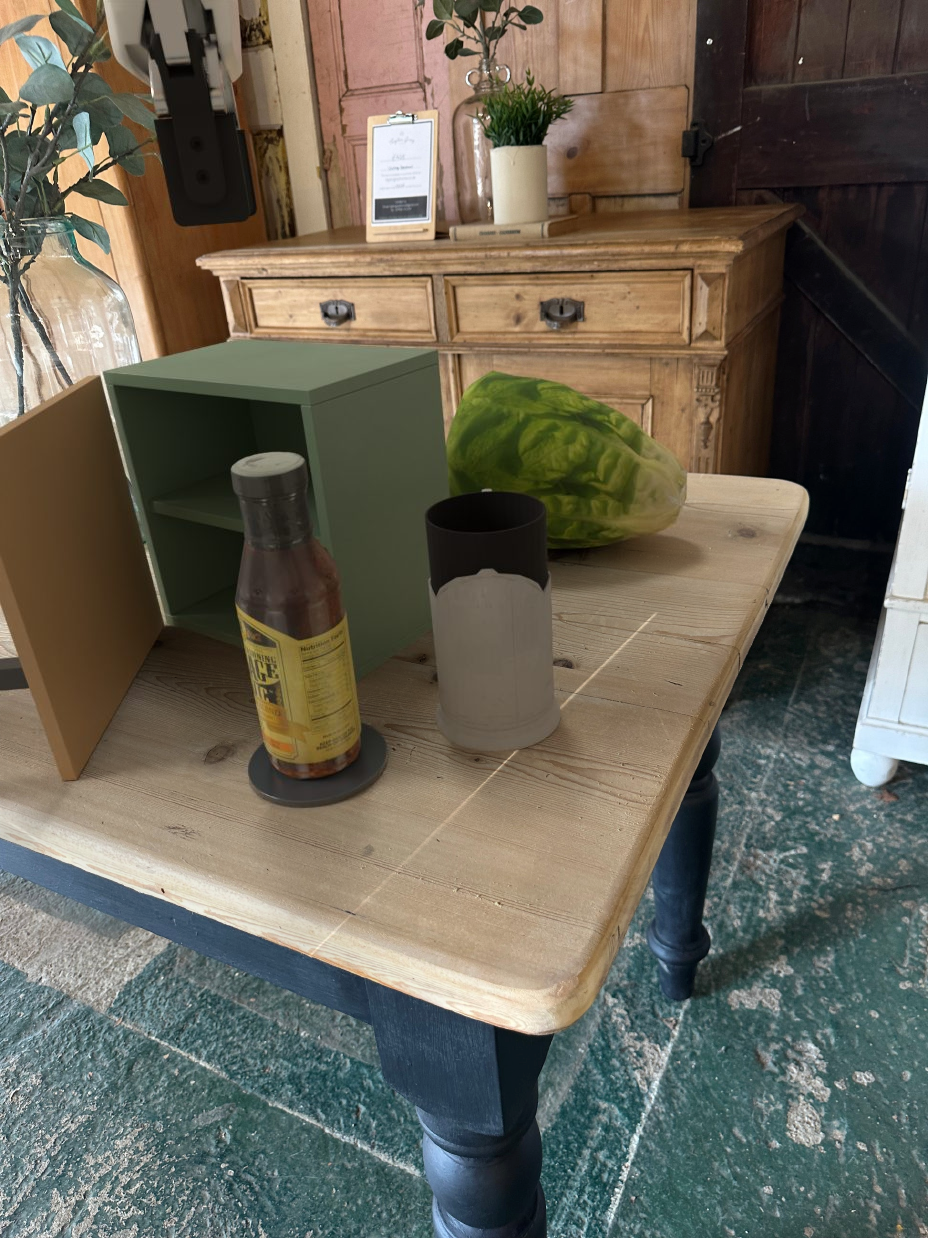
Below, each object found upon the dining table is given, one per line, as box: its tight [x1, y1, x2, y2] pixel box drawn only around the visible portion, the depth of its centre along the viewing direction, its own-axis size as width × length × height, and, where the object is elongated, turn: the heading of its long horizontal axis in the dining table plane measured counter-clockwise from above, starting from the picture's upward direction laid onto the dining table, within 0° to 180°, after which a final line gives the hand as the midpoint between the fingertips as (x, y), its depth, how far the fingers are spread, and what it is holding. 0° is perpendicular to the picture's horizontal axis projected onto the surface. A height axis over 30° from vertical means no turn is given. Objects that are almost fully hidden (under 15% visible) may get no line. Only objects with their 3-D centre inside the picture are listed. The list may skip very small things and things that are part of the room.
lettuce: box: [445, 370, 688, 550], centre depth 83 cm, size 17×23×16 cm
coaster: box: [247, 721, 389, 809], centre depth 56 cm, size 9×9×1 cm
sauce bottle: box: [231, 452, 362, 780], centre depth 51 cm, size 6×6×20 cm
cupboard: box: [102, 338, 450, 683], centre depth 71 cm, size 14×22×22 cm, turn 55°
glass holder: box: [425, 489, 562, 752], centre depth 59 cm, size 9×14×15 cm, turn 179°
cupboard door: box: [0, 374, 165, 782], centre depth 61 cm, size 7×22×22 cm, turn 3°
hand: (221, 220), depth 41 cm, fingers open, 9 cm apart
